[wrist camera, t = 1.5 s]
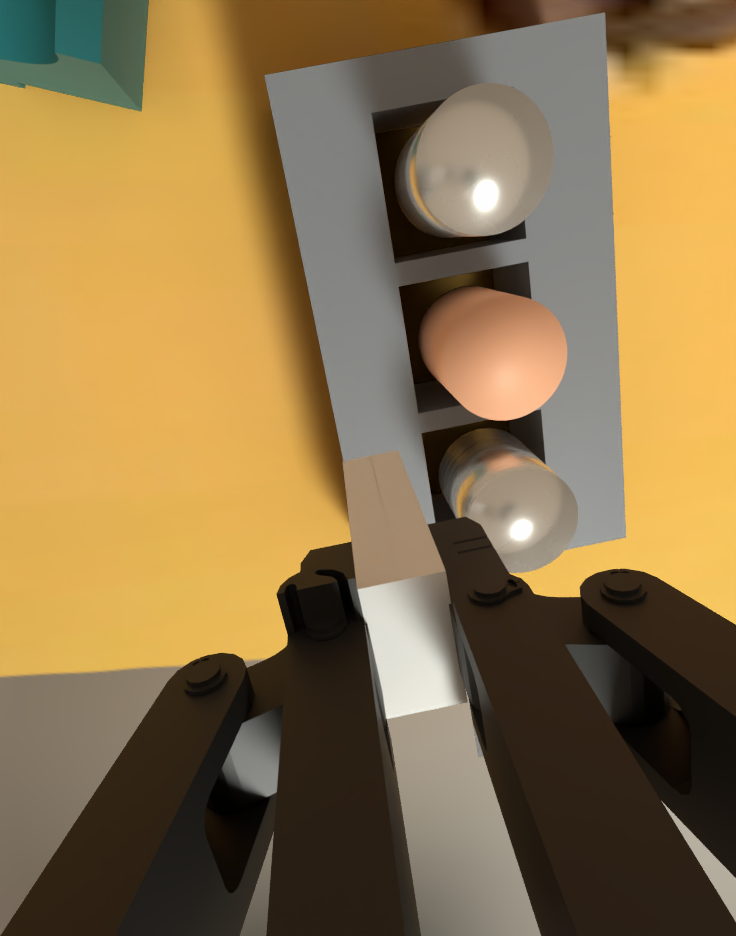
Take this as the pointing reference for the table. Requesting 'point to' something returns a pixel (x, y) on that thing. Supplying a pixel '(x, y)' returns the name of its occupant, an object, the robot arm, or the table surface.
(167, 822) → the robot arm
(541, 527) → the steel plug
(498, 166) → the steel plug
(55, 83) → the teal l-shaped bracket
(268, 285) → the table surface
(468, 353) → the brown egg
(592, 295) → the grey rectangular block
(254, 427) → the table surface
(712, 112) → the table surface
